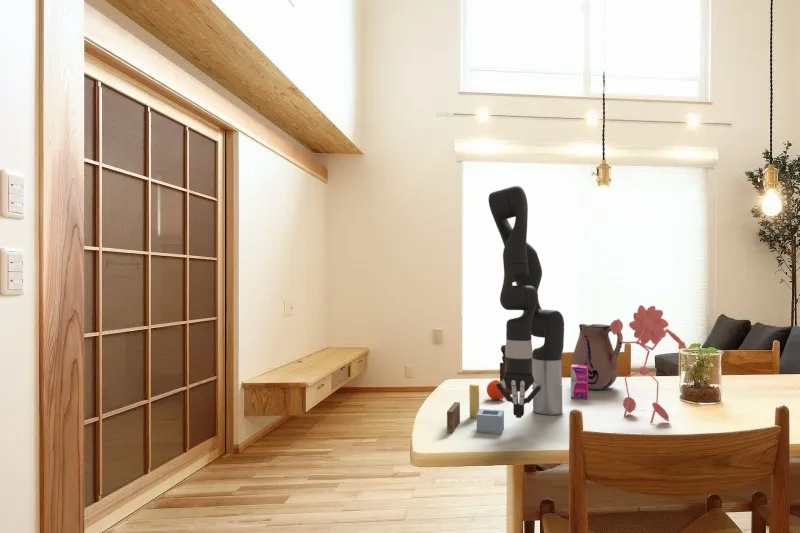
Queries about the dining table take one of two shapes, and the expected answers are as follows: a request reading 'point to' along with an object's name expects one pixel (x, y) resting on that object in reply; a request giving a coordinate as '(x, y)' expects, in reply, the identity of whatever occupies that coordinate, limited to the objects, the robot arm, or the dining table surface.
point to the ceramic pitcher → (597, 355)
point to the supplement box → (579, 381)
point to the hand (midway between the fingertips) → (518, 417)
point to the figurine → (646, 329)
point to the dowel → (474, 400)
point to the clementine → (494, 390)
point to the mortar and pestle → (503, 368)
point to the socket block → (490, 421)
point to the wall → (453, 417)
